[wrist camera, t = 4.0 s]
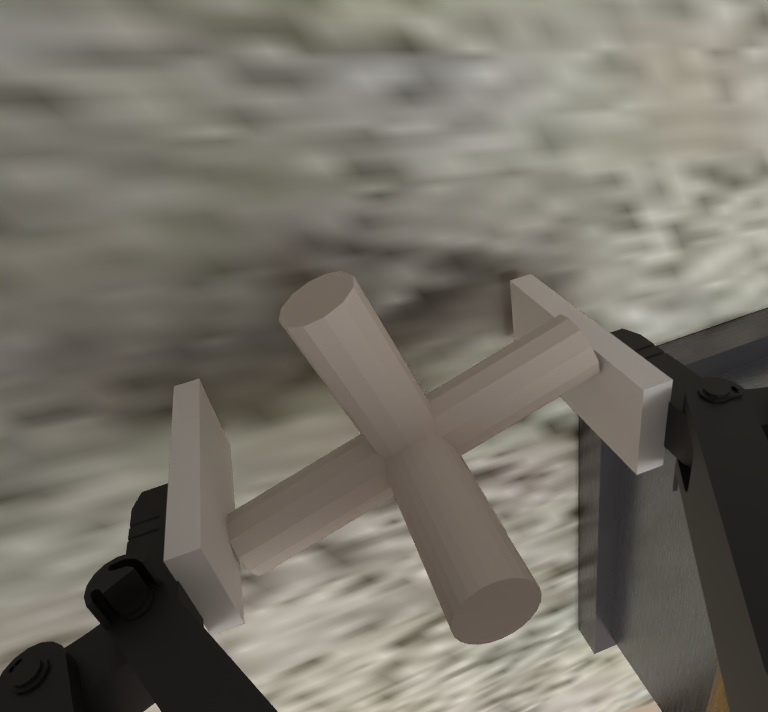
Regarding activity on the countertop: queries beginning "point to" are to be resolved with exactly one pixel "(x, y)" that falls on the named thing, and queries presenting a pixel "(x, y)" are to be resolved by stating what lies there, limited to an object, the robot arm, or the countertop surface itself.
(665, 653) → the grey gold-rimmed box
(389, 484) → the pipe connector
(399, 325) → the countertop surface
